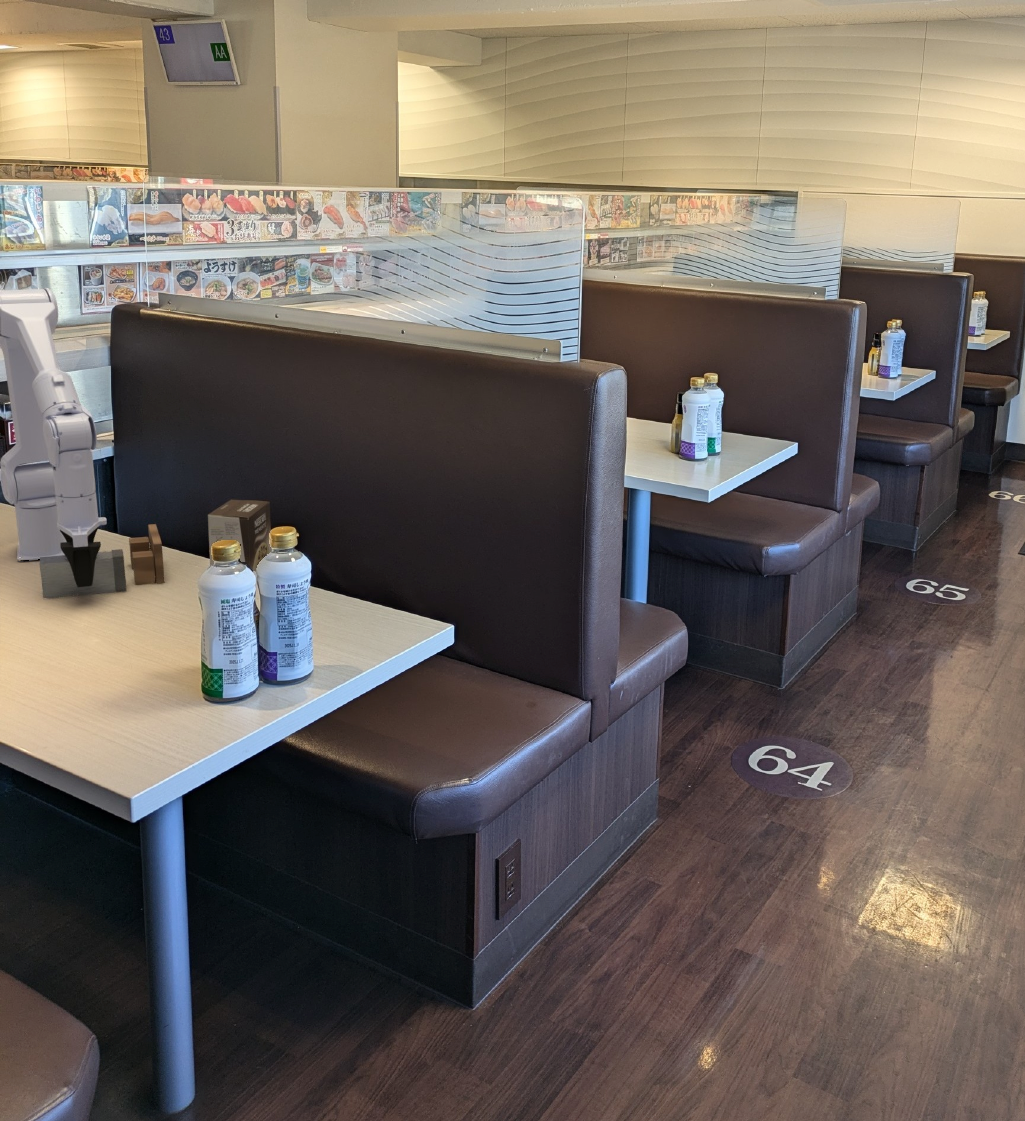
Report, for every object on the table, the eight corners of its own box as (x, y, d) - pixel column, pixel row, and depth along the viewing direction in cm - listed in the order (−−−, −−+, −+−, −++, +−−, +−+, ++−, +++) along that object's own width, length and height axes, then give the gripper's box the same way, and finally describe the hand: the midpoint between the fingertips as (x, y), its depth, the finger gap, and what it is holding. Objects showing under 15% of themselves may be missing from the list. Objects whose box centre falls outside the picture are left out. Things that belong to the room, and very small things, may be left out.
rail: (43, 591, 173) (39, 555, 171) (125, 583, 178) (122, 549, 176) (43, 599, 170) (39, 563, 168) (126, 591, 174) (123, 555, 173)
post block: (130, 563, 187) (127, 526, 185) (158, 561, 188) (155, 524, 186) (135, 585, 177) (132, 546, 175) (164, 582, 179) (161, 543, 176)
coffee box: (253, 623, 164) (248, 517, 159) (211, 619, 165) (205, 514, 160) (275, 601, 172) (271, 500, 167) (235, 597, 173) (230, 497, 168)
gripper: (106, 503, 164) (113, 590, 168) (101, 479, 177) (109, 560, 181) (54, 507, 161) (63, 595, 166) (53, 482, 174) (62, 564, 178)
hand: (84, 577), depth 173 cm, fingers open, 7 cm apart
